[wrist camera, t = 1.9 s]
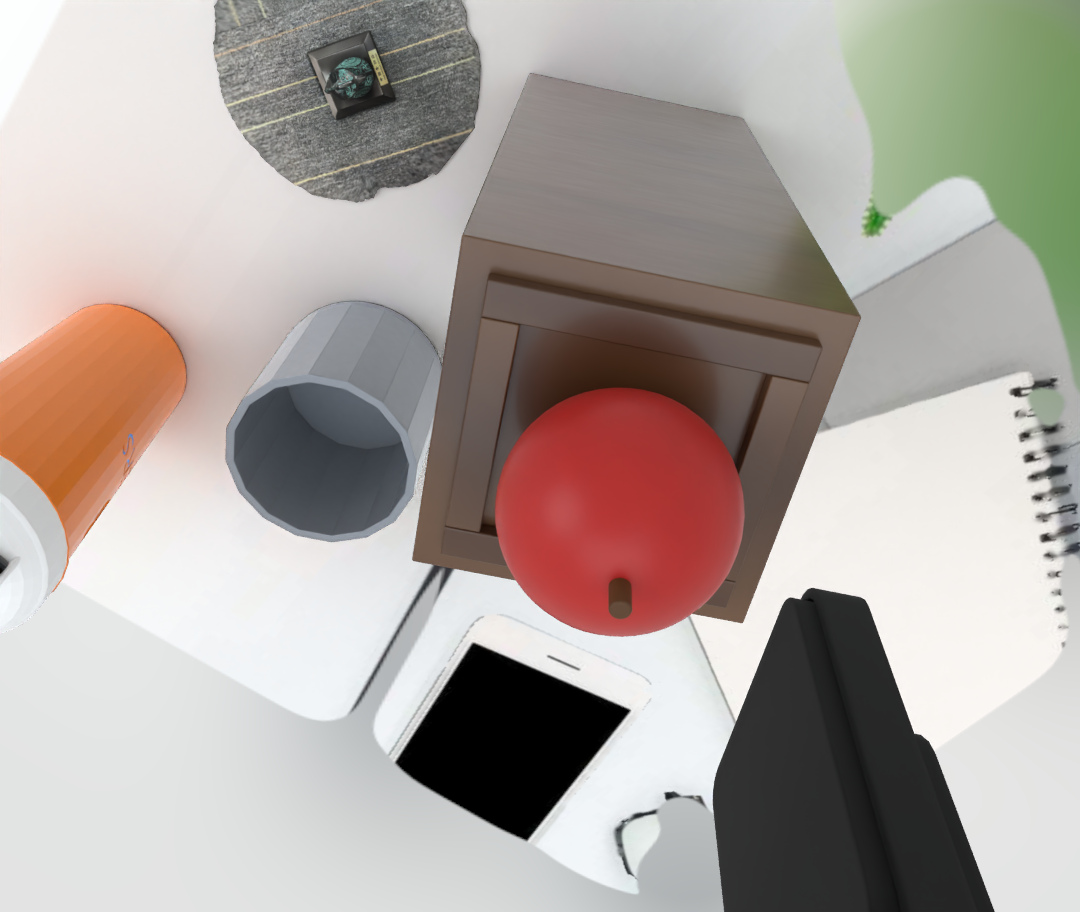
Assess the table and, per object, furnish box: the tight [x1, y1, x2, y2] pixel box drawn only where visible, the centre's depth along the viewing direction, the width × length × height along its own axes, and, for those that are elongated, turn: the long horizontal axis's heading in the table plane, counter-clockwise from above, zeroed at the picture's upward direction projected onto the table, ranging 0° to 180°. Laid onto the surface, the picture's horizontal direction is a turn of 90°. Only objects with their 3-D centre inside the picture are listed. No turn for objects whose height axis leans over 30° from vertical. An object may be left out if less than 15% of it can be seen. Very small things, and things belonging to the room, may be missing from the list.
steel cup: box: [225, 301, 442, 542], centre depth 49 cm, size 9×9×9 cm
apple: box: [495, 388, 745, 637], centre depth 23 cm, size 6×6×7 cm
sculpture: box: [213, 0, 480, 202], centre depth 45 cm, size 12×9×8 cm
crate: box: [412, 73, 861, 623], centre depth 36 cm, size 10×10×24 cm
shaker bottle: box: [0, 304, 186, 633], centre depth 44 cm, size 9×9×20 cm
